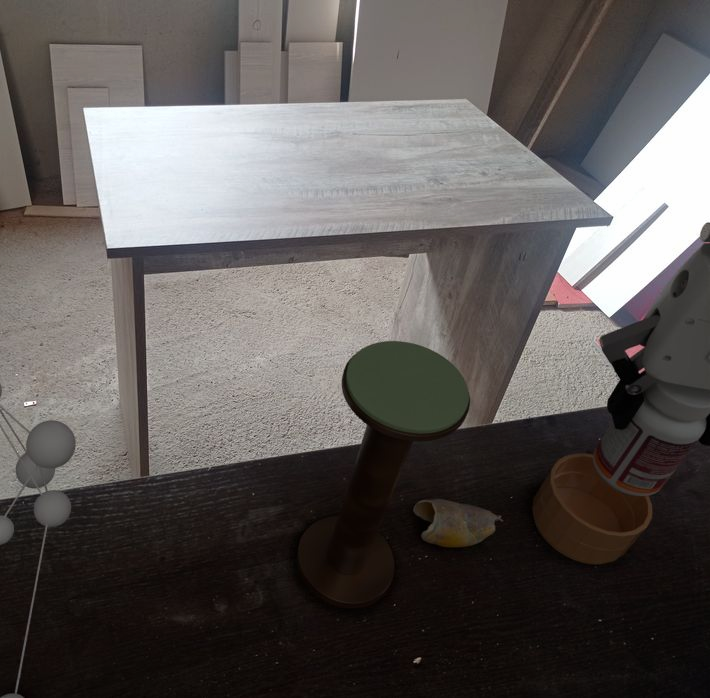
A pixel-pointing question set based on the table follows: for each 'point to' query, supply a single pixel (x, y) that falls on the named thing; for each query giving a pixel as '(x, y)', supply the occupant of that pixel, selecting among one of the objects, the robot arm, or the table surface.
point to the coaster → (407, 387)
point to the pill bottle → (653, 439)
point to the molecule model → (40, 484)
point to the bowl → (587, 512)
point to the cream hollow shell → (455, 523)
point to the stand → (360, 519)
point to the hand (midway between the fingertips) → (658, 423)
